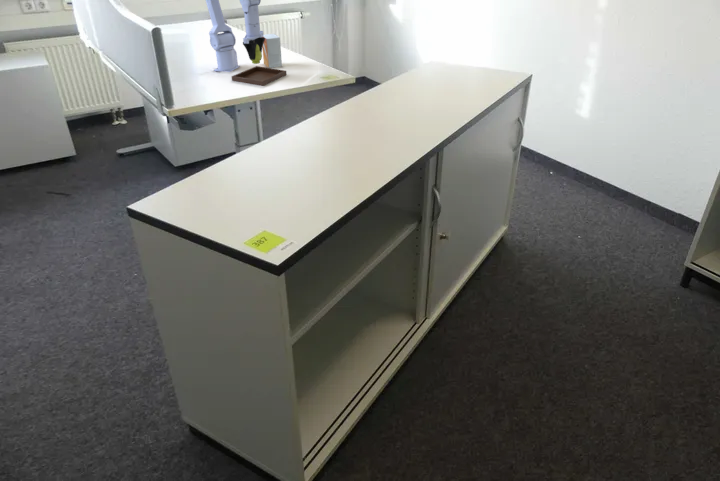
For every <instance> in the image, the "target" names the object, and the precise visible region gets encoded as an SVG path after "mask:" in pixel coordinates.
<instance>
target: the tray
mask: <svg viewBox="0 0 720 481" xmlns="http://www.w3.org/2000/svg"><path fill="white" fill-rule="evenodd" d="M287 74H288V73H287V70H284V69H277V68H273V67H272V68H269V67H267V66H266V67H265V66H259V65H256V66H253V67H251V68H248V69H246V70H244V71H241V72H239V73H236V74H234V75H231V82H236V83H242V84H248V85H254V86H260V87H265V86H266V85H269V84H271V83H273V82H275V81H277V80H280V79H282V78H284V77H286V76H287Z"/></svg>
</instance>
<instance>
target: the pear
mask: <svg viewBox="0 0 720 481" xmlns="http://www.w3.org/2000/svg"><path fill="white" fill-rule="evenodd" d="M254 43H255V41H254ZM249 60H250V61H251V64H253V65H257V64H261V60H263V52H262V53H261V51H260V50H259V46H258V44H257V45H256V51H255V60H251V59H250V58H249Z"/></svg>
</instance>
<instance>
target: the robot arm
mask: <svg viewBox="0 0 720 481" xmlns="http://www.w3.org/2000/svg"><path fill="white" fill-rule="evenodd" d="M239 3H240V5H241V9H242V12H243V15H244V16H243V17H244V25H245V27H244V28H245V35H244V37H243V38H242V45H243V47H244V48H245V50H246V52H247V56H248V58H249V60H250V59H251V60H255V51H256V45H257V44H258V46H259V50H260V51H261V53H262V54H263V48H262V47H263V43H264V41H265V38H264V37H263V36H264V35H265V34H264V30H261V25H260V24H261V22H260V13H259V12H260V11H259V5H260V4H261V0H239ZM205 4H206V7H207V10H208V14H209V17H210V21H211V24H212V27H211V29H210V30H209V33H208V35H209V43H210V47H211V48H212V49H213V51H215V57H216V64H217V68H215V69H214V70H213V71H214V72H221V73H222V72H227V73H231V72H233V71H235V70H236V69H238V68H240V67H241V65H239V63H238V54H237V50H236V49H235V48H234V46H236V36H235V34H234V32H233V30H232V27H231V26H229V25H227V24H226V22H225V18H224V15H223V11H222V8H221V4H220V0H205ZM254 41H255V43H254ZM251 60H250V61H251Z"/></svg>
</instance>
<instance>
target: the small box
mask: <svg viewBox="0 0 720 481" xmlns="http://www.w3.org/2000/svg"><path fill="white" fill-rule="evenodd" d="M263 35H264V36H263V37H264V38H265V41H264V43H263V47H262V60H263V64H264V66H266V68H272V69H273V68H280V67H283V61H282V47H281V37H280V36H278V35H277V34H275V33H266V34H263Z"/></svg>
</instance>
